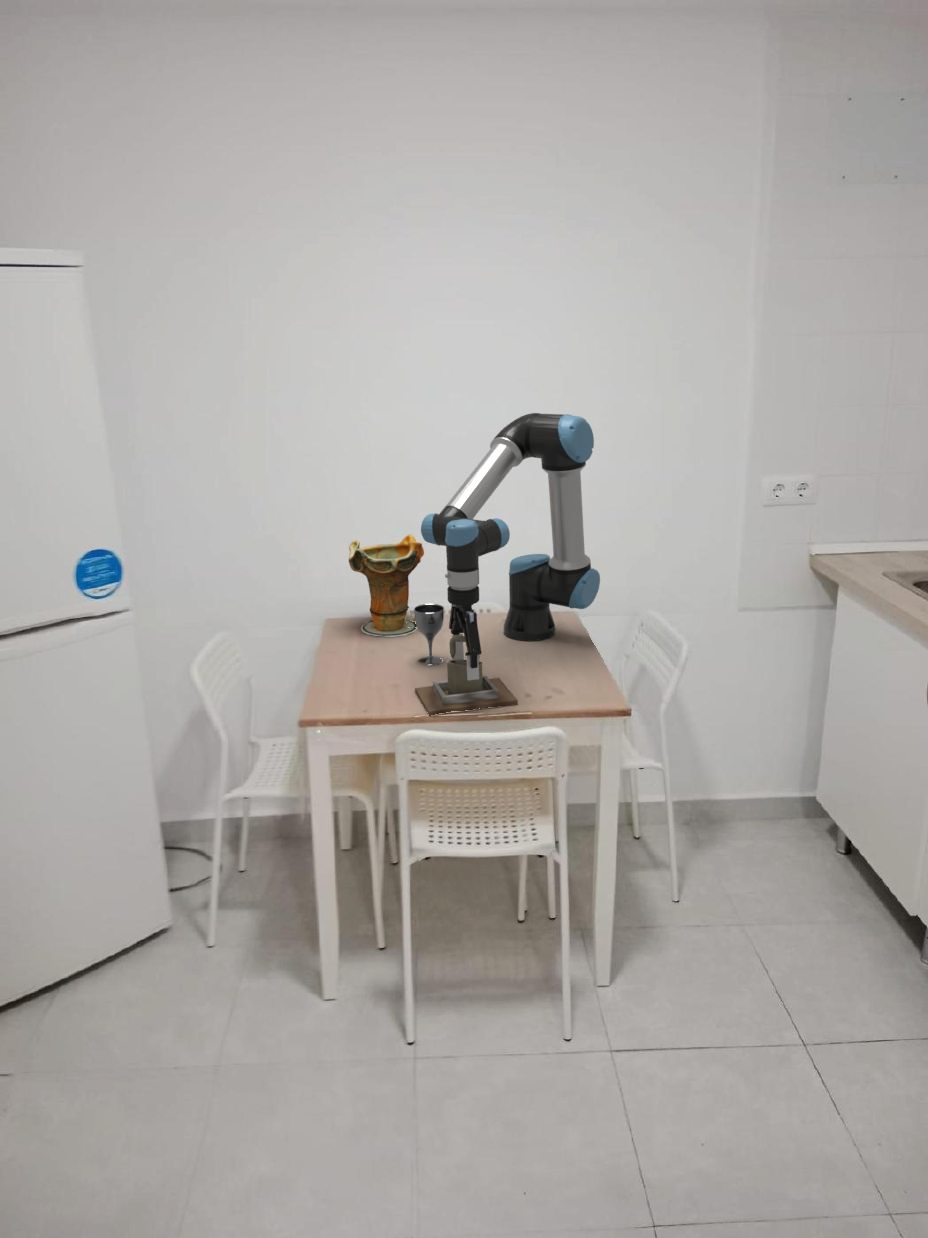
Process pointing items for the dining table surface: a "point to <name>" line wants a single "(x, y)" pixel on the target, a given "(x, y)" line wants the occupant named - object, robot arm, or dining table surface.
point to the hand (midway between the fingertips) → (465, 669)
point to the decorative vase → (387, 583)
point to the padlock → (461, 672)
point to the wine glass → (429, 627)
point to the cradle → (465, 697)
